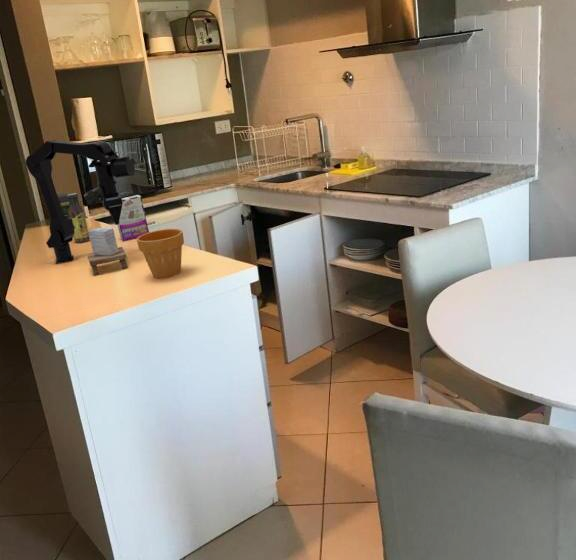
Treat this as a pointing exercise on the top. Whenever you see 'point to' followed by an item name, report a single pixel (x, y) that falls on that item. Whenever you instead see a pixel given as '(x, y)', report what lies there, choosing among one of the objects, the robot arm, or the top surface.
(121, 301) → the top surface
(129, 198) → the candy bar box
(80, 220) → the sauce bottle
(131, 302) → the top surface
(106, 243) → the medicine box
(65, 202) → the coffee jar
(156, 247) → the flower pot
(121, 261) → the small brown stool
